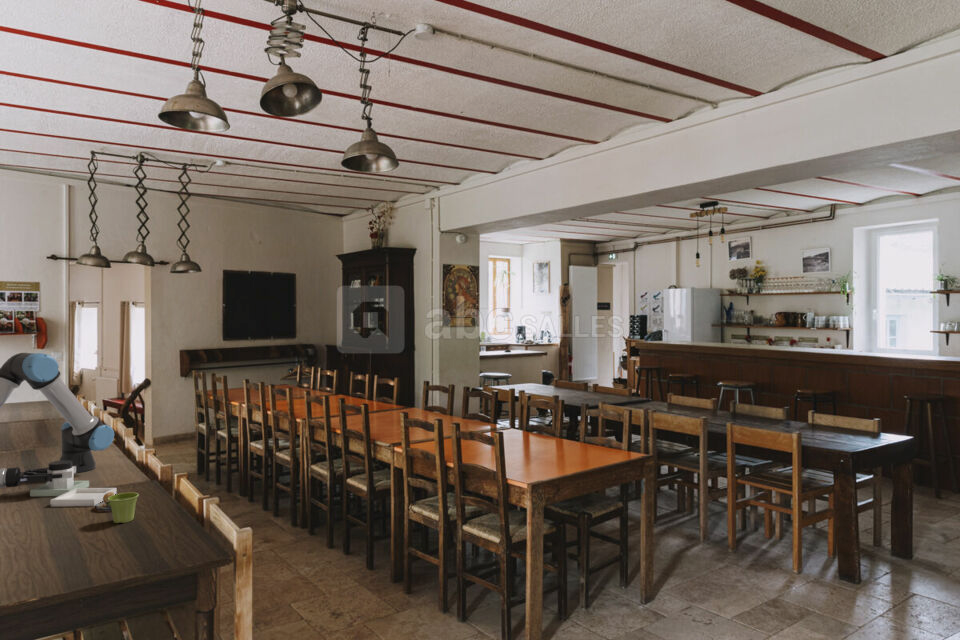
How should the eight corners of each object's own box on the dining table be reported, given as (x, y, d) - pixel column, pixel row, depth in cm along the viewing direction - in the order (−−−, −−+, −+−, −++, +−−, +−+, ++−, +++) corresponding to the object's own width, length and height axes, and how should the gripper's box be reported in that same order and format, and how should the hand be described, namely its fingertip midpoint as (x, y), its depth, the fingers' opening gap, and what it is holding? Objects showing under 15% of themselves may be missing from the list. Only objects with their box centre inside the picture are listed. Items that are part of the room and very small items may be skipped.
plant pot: (117, 527, 212) (117, 501, 212) (102, 522, 217) (102, 497, 217) (144, 519, 220) (144, 495, 220) (129, 514, 225) (129, 491, 225)
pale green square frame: (52, 486, 262) (52, 480, 262) (89, 486, 263) (89, 480, 263) (30, 496, 248) (30, 490, 248) (68, 495, 249) (68, 489, 249)
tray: (75, 494, 251) (75, 488, 251) (116, 493, 252) (116, 487, 252) (50, 506, 235) (50, 499, 235) (94, 505, 236) (94, 499, 236)
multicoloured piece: (123, 512, 229) (123, 492, 229) (88, 513, 227) (88, 493, 227) (135, 502, 241) (135, 483, 241) (102, 504, 239) (102, 484, 239)
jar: (47, 495, 249) (46, 465, 249) (47, 490, 256) (47, 461, 256) (73, 491, 254) (73, 462, 254) (73, 487, 261) (73, 458, 261)
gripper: (13, 480, 257) (78, 475, 267) (-1, 494, 238) (69, 487, 248) (13, 462, 257) (78, 457, 267) (-1, 474, 238) (69, 468, 248)
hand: (74, 471), depth 257 cm, fingers closed on jar, 8 cm apart
